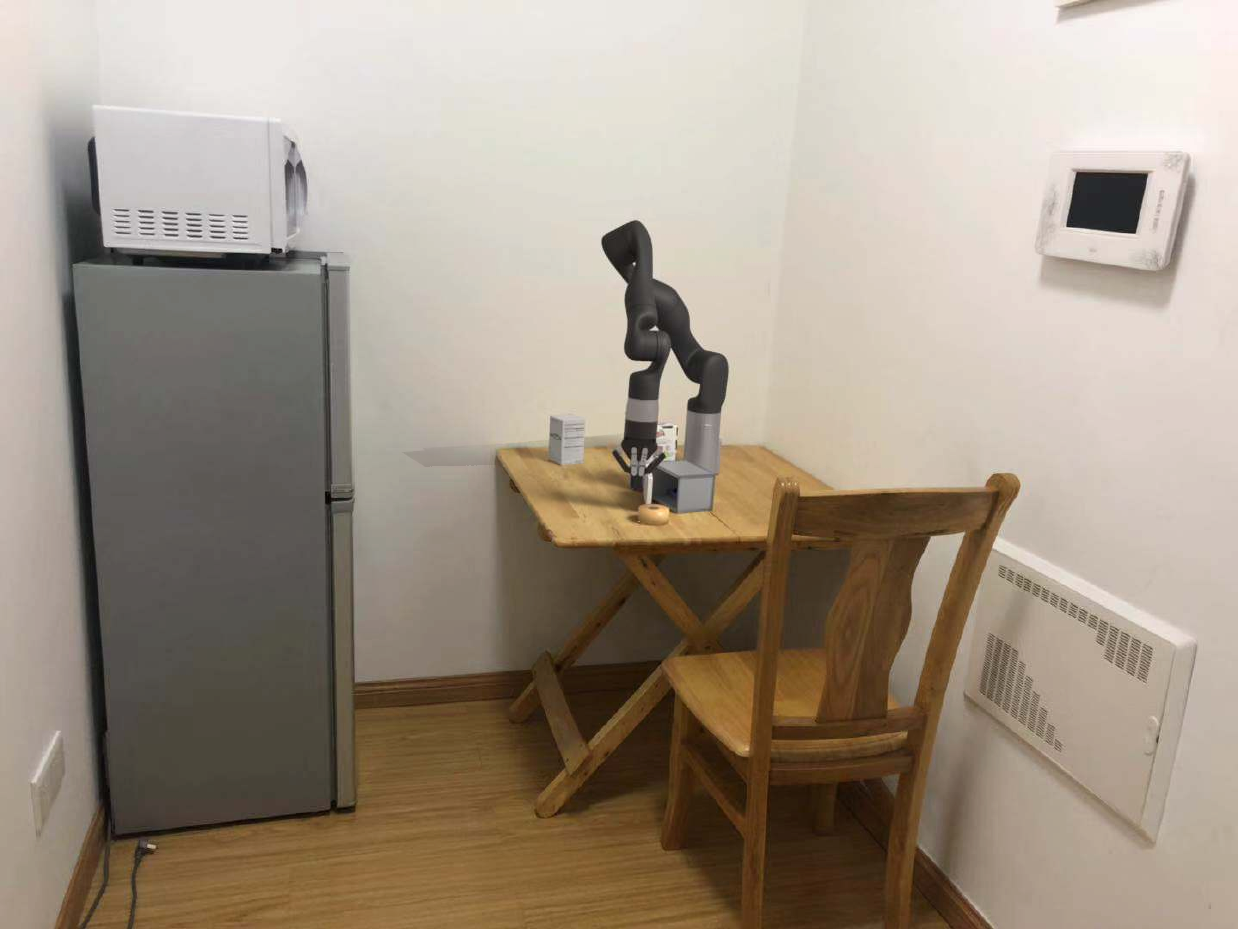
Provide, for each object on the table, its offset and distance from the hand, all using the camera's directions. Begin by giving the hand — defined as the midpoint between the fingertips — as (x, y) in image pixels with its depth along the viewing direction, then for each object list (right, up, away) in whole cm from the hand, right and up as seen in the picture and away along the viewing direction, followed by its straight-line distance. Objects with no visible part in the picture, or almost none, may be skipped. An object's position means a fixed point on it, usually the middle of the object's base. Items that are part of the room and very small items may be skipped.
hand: (635, 490), depth 232 cm
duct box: (+11, -3, +9) cm, 15 cm away
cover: (+3, -4, +6) cm, 8 cm away
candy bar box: (+4, 0, +22) cm, 22 cm away
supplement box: (-19, +7, +43) cm, 47 cm away
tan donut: (+4, -7, -6) cm, 10 cm away
